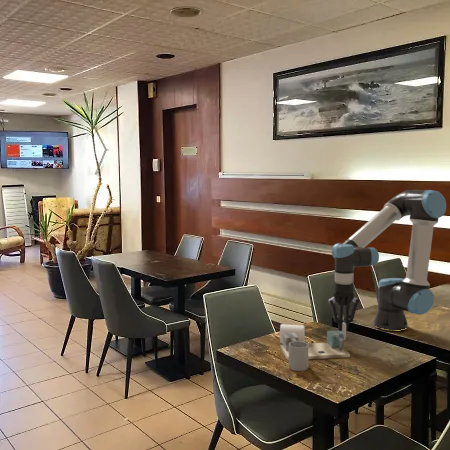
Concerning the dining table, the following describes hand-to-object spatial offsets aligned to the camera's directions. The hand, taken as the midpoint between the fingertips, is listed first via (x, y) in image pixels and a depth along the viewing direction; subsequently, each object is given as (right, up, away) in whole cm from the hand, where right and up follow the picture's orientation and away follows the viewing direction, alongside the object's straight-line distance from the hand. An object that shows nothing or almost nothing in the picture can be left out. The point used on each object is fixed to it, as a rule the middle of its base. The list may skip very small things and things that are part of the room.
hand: (342, 338), depth 201 cm
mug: (-20, -4, +9) cm, 22 cm away
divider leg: (-3, -3, -2) cm, 5 cm away
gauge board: (-13, -5, -4) cm, 14 cm away
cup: (-22, -6, -18) cm, 29 cm away
